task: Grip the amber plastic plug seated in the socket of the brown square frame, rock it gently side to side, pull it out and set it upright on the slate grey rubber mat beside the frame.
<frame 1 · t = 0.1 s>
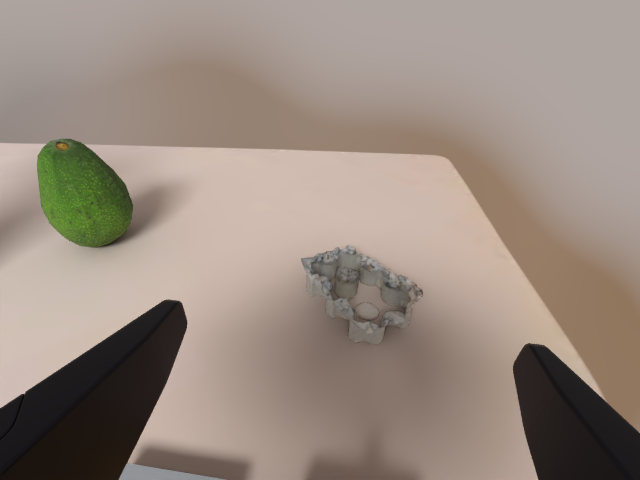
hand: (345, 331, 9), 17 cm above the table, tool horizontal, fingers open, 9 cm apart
egg carton: (354, 304, 33), on the table
avocado: (106, 242, 39), on the table
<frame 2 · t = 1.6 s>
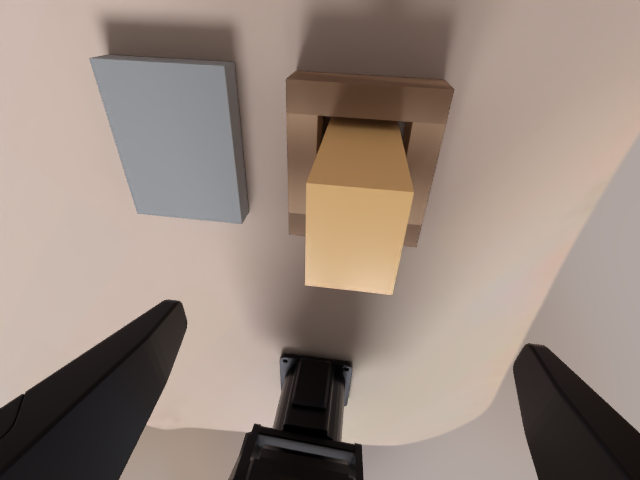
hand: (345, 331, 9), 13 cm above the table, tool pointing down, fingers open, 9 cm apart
brown square frame: (360, 155, 20), on the table
grey rubber mat: (186, 142, 21), on the table
amber plug: (357, 189, 16), in the brown square frame
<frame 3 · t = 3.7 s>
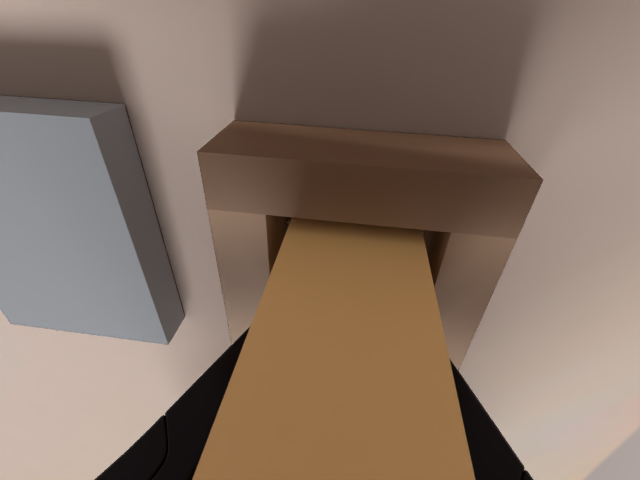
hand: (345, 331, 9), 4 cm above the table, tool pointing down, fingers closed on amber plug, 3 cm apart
brown square frame: (351, 252, 12), on the table
grey rubber mat: (72, 223, 13), on the table
amber plug: (342, 362, 8), in the brown square frame, touching gripper
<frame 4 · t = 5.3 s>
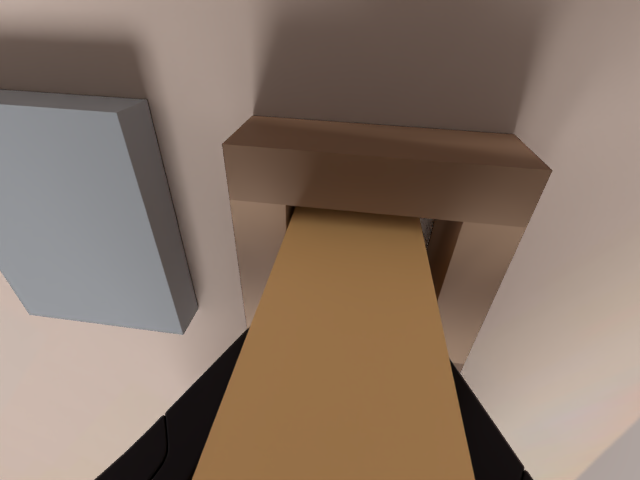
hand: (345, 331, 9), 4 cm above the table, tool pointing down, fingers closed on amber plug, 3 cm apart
brown square frame: (363, 244, 12), on the table
grey rubber mat: (91, 216, 13), on the table
amber plug: (342, 362, 8), in the brown square frame, point 5 cm above the table, touching gripper
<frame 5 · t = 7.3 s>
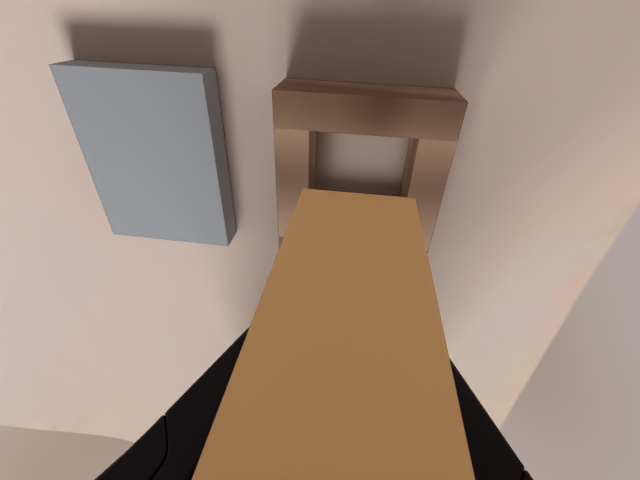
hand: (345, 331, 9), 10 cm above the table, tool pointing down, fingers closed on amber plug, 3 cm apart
brown square frame: (358, 172, 18), on the table
grey rubber mat: (165, 156, 18), on the table
amber plug: (342, 361, 8), point 11 cm above the table, touching gripper
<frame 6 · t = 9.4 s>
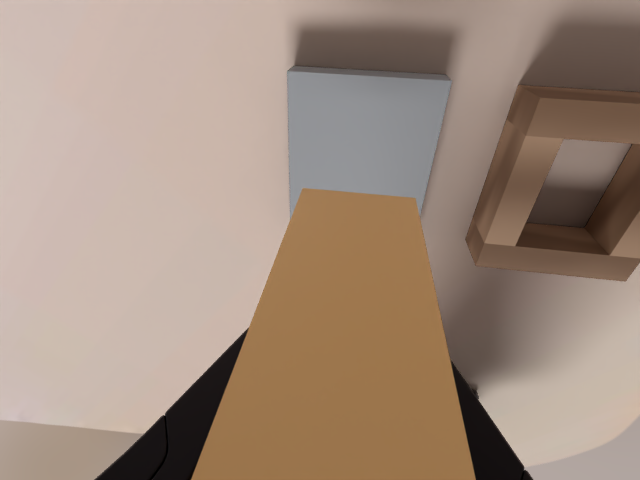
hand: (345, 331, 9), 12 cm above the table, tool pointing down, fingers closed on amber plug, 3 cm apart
brown square frame: (563, 178, 17), on the table
grey rubber mat: (358, 162, 18), on the table
amber plug: (342, 361, 8), point 12 cm above the table, touching gripper
when the fingers open (6 cm above the table, at t = 11.1 s): amber plug drops 1 cm, resting on grey rubber mat.
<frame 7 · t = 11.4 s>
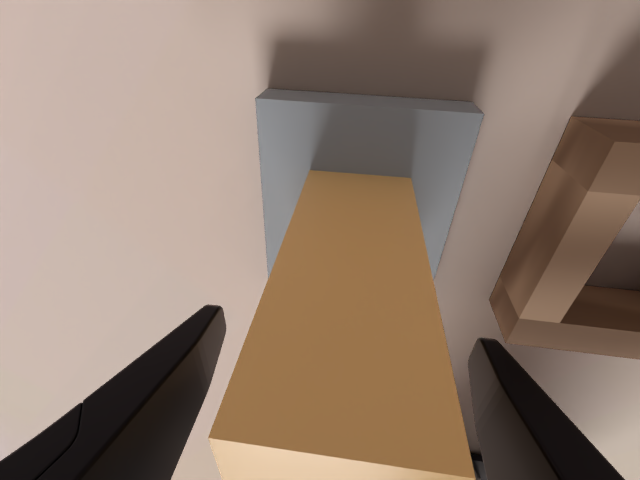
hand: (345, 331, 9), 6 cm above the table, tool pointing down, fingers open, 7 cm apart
brown square frame: (622, 233, 13), on the table
grey rubber mat: (355, 209, 14), on the table
amber plug: (346, 316, 9), on the grey rubber mat, point 6 cm above the table
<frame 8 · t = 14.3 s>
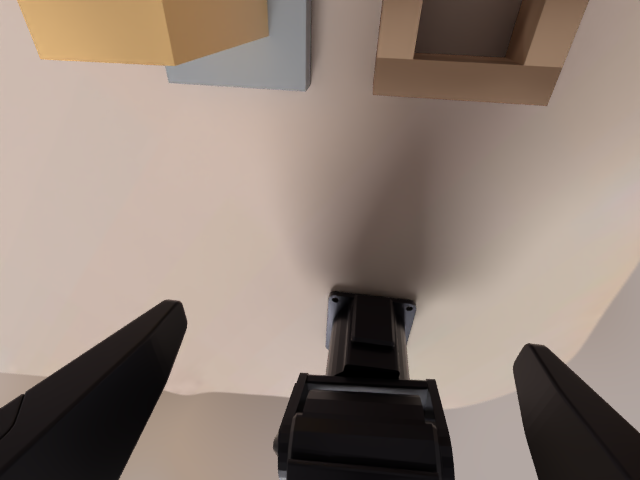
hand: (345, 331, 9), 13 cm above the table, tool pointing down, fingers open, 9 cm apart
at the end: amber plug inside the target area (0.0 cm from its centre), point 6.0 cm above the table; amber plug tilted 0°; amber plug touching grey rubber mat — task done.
